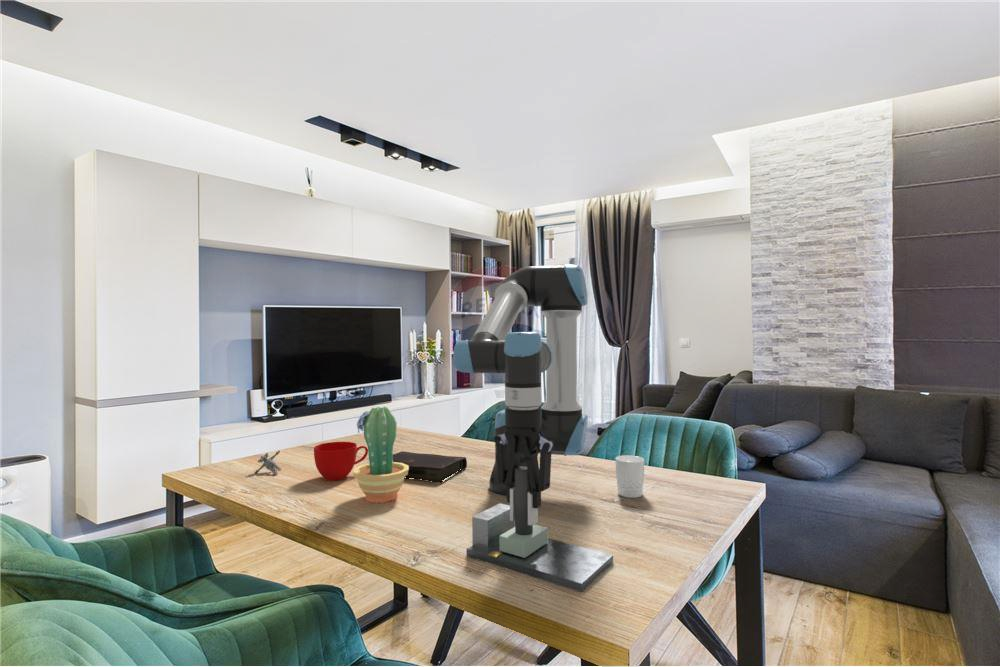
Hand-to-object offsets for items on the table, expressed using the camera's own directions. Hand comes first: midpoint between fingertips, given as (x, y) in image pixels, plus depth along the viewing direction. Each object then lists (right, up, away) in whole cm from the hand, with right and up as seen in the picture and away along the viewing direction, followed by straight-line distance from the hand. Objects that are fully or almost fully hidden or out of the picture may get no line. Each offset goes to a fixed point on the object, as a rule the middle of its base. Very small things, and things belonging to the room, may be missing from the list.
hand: (523, 520), depth 107 cm
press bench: (+3, -7, -2) cm, 8 cm away
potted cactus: (-38, -7, +38) cm, 54 cm away
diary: (-31, -7, +63) cm, 71 cm away
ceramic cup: (-55, -7, +58) cm, 80 cm away
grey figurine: (-80, -7, +64) cm, 103 cm away
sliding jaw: (0, -5, 0) cm, 5 cm away
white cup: (+32, -7, +39) cm, 51 cm away
